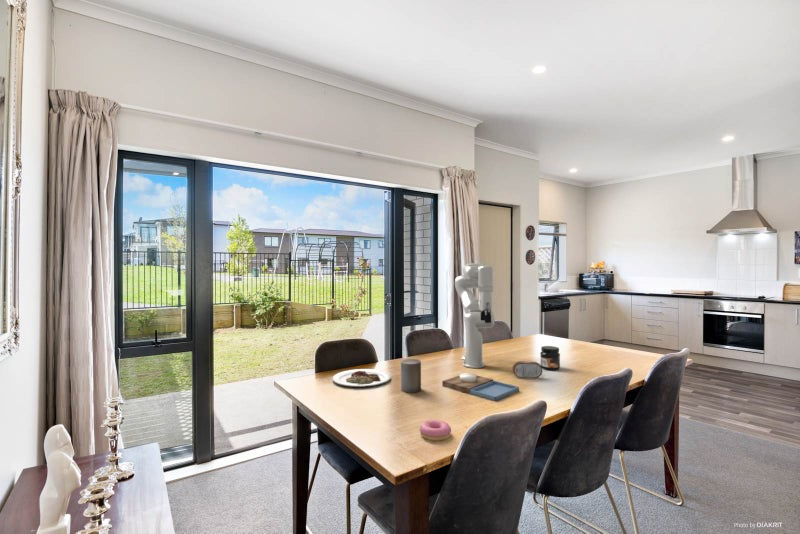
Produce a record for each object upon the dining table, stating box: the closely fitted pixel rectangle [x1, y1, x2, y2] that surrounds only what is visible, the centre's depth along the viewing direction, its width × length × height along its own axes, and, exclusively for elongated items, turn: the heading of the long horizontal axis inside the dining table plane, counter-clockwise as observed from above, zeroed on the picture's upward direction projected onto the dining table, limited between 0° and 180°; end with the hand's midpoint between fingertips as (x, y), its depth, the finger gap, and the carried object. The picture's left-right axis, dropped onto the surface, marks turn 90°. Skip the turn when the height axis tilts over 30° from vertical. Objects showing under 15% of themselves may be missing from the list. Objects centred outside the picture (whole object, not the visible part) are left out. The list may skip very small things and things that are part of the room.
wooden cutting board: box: [441, 374, 494, 395], centre depth 192 cm, size 16×20×2 cm
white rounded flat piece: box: [459, 372, 476, 383], centre depth 192 cm, size 8×8×2 cm
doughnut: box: [419, 419, 452, 442], centre depth 136 cm, size 11×11×4 cm
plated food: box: [332, 368, 391, 388], centre depth 202 cm, size 30×30×3 cm
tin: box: [512, 360, 543, 379], centre depth 205 cm, size 15×3×8 cm, turn 84°
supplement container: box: [539, 345, 561, 372], centre depth 223 cm, size 10×10×12 cm
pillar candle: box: [400, 358, 422, 394], centre depth 186 cm, size 10×10×15 cm
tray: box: [469, 380, 520, 402], centre depth 181 cm, size 14×20×2 cm
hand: (485, 321), depth 206 cm, fingers open, 9 cm apart
